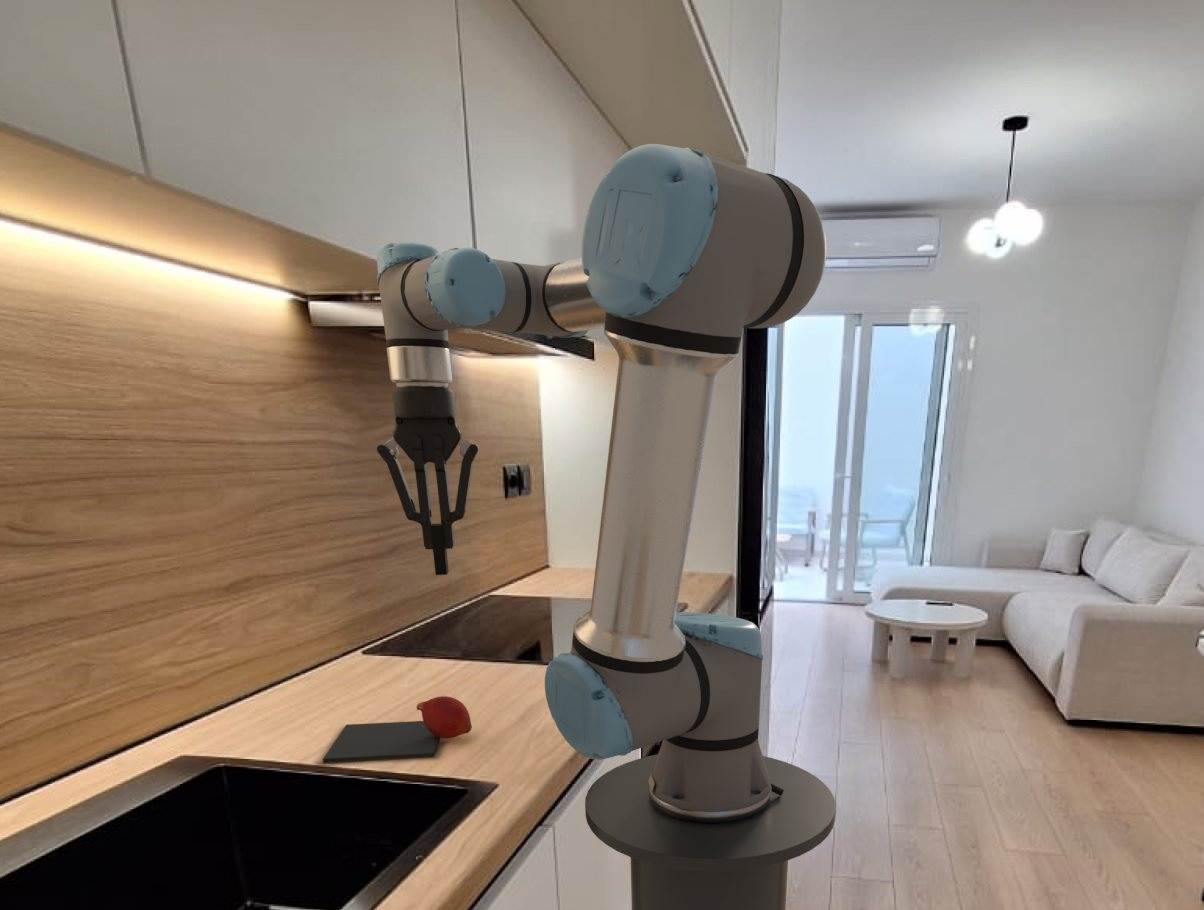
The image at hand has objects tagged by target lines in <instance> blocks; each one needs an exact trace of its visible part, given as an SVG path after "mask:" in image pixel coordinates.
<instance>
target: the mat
mask: <svg viewBox="0 0 1204 910" xmlns="http://www.w3.org/2000/svg"><path fill="white" fill-rule="evenodd" d="M440 741H441V738H440V737H437V736H435V735H434V734H432V733H431V732H430V731H429V730H428V729H427V727H426V726H425V724H424V721H423V720H414V721H413V720H412V721H393V722H392V721H391V722H390V721H389V722H371V723H353V724H352V723H350V724H345V726H344V727H343V729H342V730H341V732H340V733H339V735H338V736H337V737H336V739H335V741H334V742H333V743H332V745H331V746H330V747H329V750H328V751H327V752H326V754H325V755H324V757H323V758H322V761H323V764H325V763H343V762H344V763H345V762H347V763H348V762H363V761H364V762H365V761H380V760H381V761H382V760H383V761H385V760H399V759H401V760H402V759H418V758H419V759H421V758H434V757H435V755H436V752H437V750H438V747H439V744H440Z"/></svg>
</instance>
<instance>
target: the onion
mask: <svg viewBox="0 0 1204 910" xmlns="http://www.w3.org/2000/svg"><path fill="white" fill-rule="evenodd" d="M415 707H416V710H417V711H420V712H421V717H422V721H424V724H425V726H426V727H427V729H428V730H429V731H430V732H431V733H432V734H434V735H435V736H437V737H440V739H447V740H449V739H454V738H457V737H459V736H462V735H465V734H469V733H470V732H471V731H472V729H473V725H472V721H471V720H472V719H471V716H470V713H469V711H468V708H467V706H466V705H465V704H464V702H462V701H460V700H459V699H457V698H454V697H452V696H446V695H444V696H443V695H442V696H435V697H433V698H431V699H428V700H426V701H420V702H418V703H417V704H416V706H415Z"/></svg>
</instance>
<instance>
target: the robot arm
mask: <svg viewBox="0 0 1204 910" xmlns="http://www.w3.org/2000/svg"><path fill="white" fill-rule="evenodd" d="M817 209H818V208H817V207H816V205H815V204H814V203H813V202H812V200H811V199H810V197H809V195H807V193H805V192H804V191H803V190H802V189H801V188H800V187H799V186H797V185H796V184H794V183H793V182H791V181H790V180H788V179H786V178H783V177H781V176H777V175H774V174H773V173H772V174H771V173H767V172H761V171H759V170H756V169H753V168H750V167H748V166H744V165H742V164H738V163H735V162H732V161H729V160H727V159H724V158H721V157H718V156H715V155H711V154H710V153H709V154H708V153H706V152H703V151H700V150H698V149H691V148H689V147H688V146H686V147H677V146H672V145H667V144H666V145H665V144H660V143H647V144H641V145H639V146H636V147H634V148H632V149H630V150H629V151H627V152H626V153H624V154H622V155H621V156H620V157H619V158H618V159H617V160H616V161H615V162H614V163H613V165H612V166H611V169H610V170H609V172H607V173H606V174H604V175H603V177H602V179H601V180H600V182H599V184H598V185H597V188H596V189H595V192H594V193H593V196H592V198H591V201H590V204H589V207H588V210H587V213H586V216H585V222H584V226H583V231H582V238H581V257H578V258H573V259H569V260H564V261H562V262H557V263H550V264H547V265H539V264H528V263H520V262H515V261H508V260H503V259H496V258H491V257H490V256H489V255H488V254H487V253H485V252H484V251H482V250H481V249H478V248H474V247H463V248H458V247H454V248H449V249H448V250H444V251H442V252H441V253H440V252H439V251H438V249H437V248H435V247H434V246H432V245H428V244H425V243H420V242H411V241H397V242H388V243H384V244H382V245H381V246H379V247H378V249H377V252H376V263H377V264H376V265H377V276H376V278H377V279H376V280H377V286H378V290H379V297H380V305H381V311H382V312H381V313H382V319H383V327H384V334H385V335H384V336H385V341H386V354H387V362H388V370H389V371H388V372H389V378H390V382H392V383H393V384H395V387H394V388H393V390H391V396H392V397H391V398H392V404H393V411H394V412H393V413H394V420H395V421H394V422H395V424H394V428H393V431H392V437H391V438H389V439H388V440H387V441H386V442H384V443H383V444H379V445H377V447H376V452H377V454H378V455H379V456H380V458H382V460H383V461H384V462H385V463H386V465H387V468H388V470H389V474H390V477H391V479H392V482H393V484H394V487H395V489H396V493H397V495H398V499H399V500H400V504H401V506H402V509H403V512H404V514H405V515H404V516H405V517H406V519H407V520H408V521H413V522H415V523H418V524H419V525H420V526H421V531H422V539H423V547H424V549H425V550H432V553H433V555H432V556H433V563H434V564H433V565H434V572H435V576H447V575H448V574H449V572H450V569H449V562H448V551H447V550H450V549H451V550H452V549H454V545H455V539H454V538H455V537H454V529H453V524H454V523H455V522H457V521H459V520H462V519H463V518H464V517H465V516H466V510H467V505H468V504H467V502H468V496H469V488H470V483H471V475H472V471H473V470H472V468H473V462H474V460H475V459H476V457H477V455H478V454H479V452H480V447H479V445H478V444H476V443H473V442H471V441H470V440H468V439H466V438H465V437H463V436H462V434H463V433H462V431H461V429H460V428H459V426H458V423H457V417H456V416H457V415H456V405H455V394H454V391H453V390H452V388H450V386H449V385H450V384H452V383H453V373H452V372H453V371H452V362H451V354H450V353H451V352H450V344H449V330H456V329H469V330H479V331H490V332H491V331H492V332H493V331H494V332H505V333H522V334H532V335H539V336H540V335H542V336H550V337H551V336H552V337H554V338H559V339H560V338H565V339H566V338H578V337H579V338H580V337H582V336H585V335H587V333H588V331H592V330H593V331H594V330H601V329H603V334H604V335H605V337H606V338H607V339H608V341H609V342H610V344H611V345H612V347H613V348H614V349H615V351H616V353H617V356H618V365H617V373H616V375H617V376H616V383H615V391H614V399H613V409H612V418H611V426H610V435H609V444H608V445H609V446H608V452H607V463H606V470H605V480H604V488H603V497H602V507H601V516H600V524H599V533H598V543H597V551H596V560H595V568H594V569H595V570H594V578H593V585H592V586H593V587H592V593H591V594H592V595H591V597H592V598H591V604H590V609H589V611H587V612H585V613H584V614H582V615H581V616H580V617H578V618H577V619H576V620H575V621H574V625H573V631H572V640H571V647H570V652H561V653H559V654H558V656H555V657H554V658H553V660H551V661H550V662H548V665H547V667H546V670H545V674H544V692H545V699H546V702H547V706H548V709H549V712H550V715H551V719H553V721H554V723H555V725H556V728H557V730H558V731H559V733H560V734H561V736H562V738H563V739H564V740H565V741H566V743H568V745H569V746H570V747H571V748H572V749H573V750H575V752H577V753H579V754H580V755H582V756H583V757H585V758H588V759H591V760H597V761H598V760H600V761H601V760H606V759H610V758H614V757H618V756H619V757H622V756H623V757H624V756H626V755H628V754H631V752H633V751H636V750H639V749H642V748H644V747H648V746H650V745H654V744H656V743H659V742H662V743H661V745H660V749H659V751H658V754H659V755H658V758H657V761H656V764H655V767H654V770H653V773H652V775H651V774H650V777H649V780H648V782H649V800H650V803H651V804H652V806H653V807H654V808H655V809H656V810H657V811H659V812H660V813H662V814H664V815H666V816H668V817H671V818H673V819H676V820H680V821H684V822H689V823H696V824H728V823H735V822H740V821H744V820H747V819H750V818H753V817H755V816H757V815H759V814H760V813H762V812H763V811H765V810H766V809H767V808H768V806H769V804H770V802H771V791H772V792H774V793H776V794H778V795H780V796H781V795H782V794H783V791H784V790H783V789H781V788H779V787H777V786H775V785H773V784H772V783H770V779H769V775H768V772H767V769H766V765H765V762H764V759H763V756H764V755H763V752H762V749H761V746H760V741H759V734H760V715H761V714H760V710H761V691H762V690H761V689H762V669H763V668H762V667H763V660H764V655H763V650H762V646H763V645H762V633H761V630H760V629H759V627H758V625H756V624H755V623H754V622H752V621H749V620H746V619H743V618H739V617H735V616H731V615H724V614H716V613H707V612H692V611H691V612H690V611H689V612H687V611H683V612H681V611H679V612H677V610H678V603H679V598H680V592H681V587H682V581H683V574H684V569H685V563H686V556H687V552H688V546H689V540H690V534H691V528H692V522H693V517H694V512H695V511H694V510H695V506H696V505H695V504H696V499H697V493H698V487H699V482H700V481H699V480H700V474H701V470H702V462H703V458H704V452H705V447H706V441H707V434H708V429H709V423H710V422H709V421H710V417H711V411H712V405H713V399H714V394H715V387H716V382H717V381H716V380H717V377H718V375H719V373H720V372H721V370H723V369H724V368H726V367H727V366H728V365H730V364H731V363H732V362H733V361H734V360H736V359H737V358H738V356H739V353H740V346H741V342H742V336H743V330H744V329H766V328H772V327H776V326H778V325H782V324H784V323H785V322H787V321H789V320H791V319H793V318H794V317H795V316H797V315H798V314H800V312H801V311H802V310H804V308H806V306H807V305H809V303H810V301H811V300H812V298H813V297H814V296H815V294H816V292H817V290H818V287H819V286H820V283H821V281H822V278H823V276H824V275H823V274H824V271H825V267H826V261H827V236H826V232H825V228H824V224H823V221H822V218H821V215H820V213H819V211H818V210H817ZM458 445H459V447H460V448H459V454H460V456H461V457H463V458H462V460H461V464H460V465H461V466H460V472H459V478H458V479H459V480H458V487H457V494H456V500H455V506H454V507H455V508H454V510H452V505H451V496H450V495H451V494H450V487H449V476H448V463H447V462H448V461H449V460H450V458H451V457H452V456H453V454H454V452H455V450H456V449H457V446H458ZM398 446H399V447H400V449H401V450H402V451H403V452H404V453H405V455H406V456H407V457H408V458H409V460H410V461H412V463H413V468H414V472H415V480H416V481H415V483H416V490H417V499H418V500H417V501H418V508H419V511H418V510H417V508H416V505H415V502H414V499H413V496H412V494H411V491H410V490H411V489H410V487H409V485H408V482H407V480H406V477H405V474H404V471H403V468H402V465H401V463H400V461H399V459H398V457H399V455H400V451H399V449H398ZM428 463H431V464H434V470H435V476H436V486H437V496H438V503H439V504H438V505H439V506H438V507H439V514H440V515H439V516H440V523H433V519H434V518H433V514H432V504H431V495H430V485H429V477H428V476H429V475H428Z"/></svg>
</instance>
